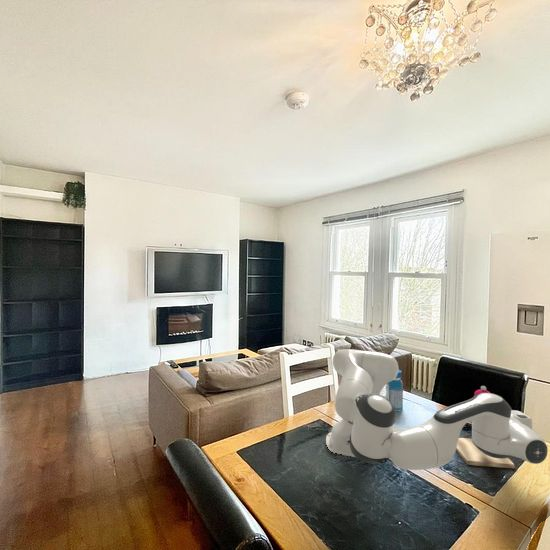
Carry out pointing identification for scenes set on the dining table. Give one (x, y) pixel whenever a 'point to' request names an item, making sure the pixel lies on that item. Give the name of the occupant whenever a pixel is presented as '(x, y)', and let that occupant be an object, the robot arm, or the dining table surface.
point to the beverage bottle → (395, 392)
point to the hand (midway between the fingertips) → (482, 407)
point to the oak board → (479, 455)
